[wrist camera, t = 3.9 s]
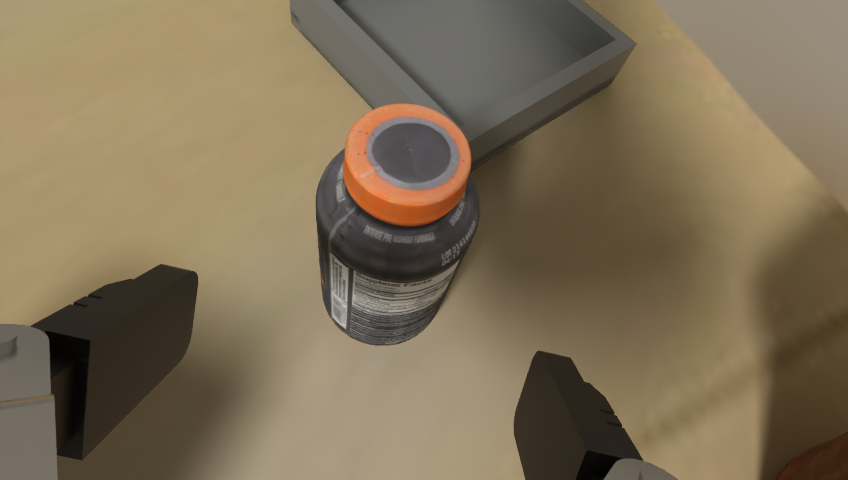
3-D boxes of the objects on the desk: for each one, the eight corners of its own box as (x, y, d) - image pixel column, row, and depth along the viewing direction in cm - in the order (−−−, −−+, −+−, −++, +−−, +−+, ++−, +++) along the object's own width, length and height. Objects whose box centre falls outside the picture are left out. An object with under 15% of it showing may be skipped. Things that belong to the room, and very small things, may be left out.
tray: (291, 22, 33) (287, -27, 30) (463, -41, 40) (474, -86, 37) (445, 186, 29) (458, 147, 26) (610, 83, 35) (636, 43, 32)
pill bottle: (359, 221, 27) (374, 51, 17) (457, 271, 26) (531, 125, 16) (297, 312, 24) (271, 169, 14) (406, 371, 23) (459, 265, 13)
